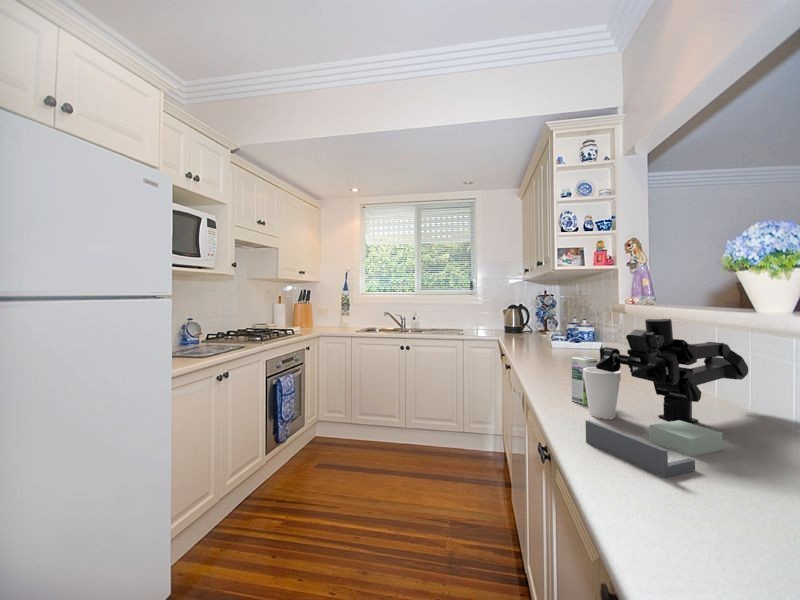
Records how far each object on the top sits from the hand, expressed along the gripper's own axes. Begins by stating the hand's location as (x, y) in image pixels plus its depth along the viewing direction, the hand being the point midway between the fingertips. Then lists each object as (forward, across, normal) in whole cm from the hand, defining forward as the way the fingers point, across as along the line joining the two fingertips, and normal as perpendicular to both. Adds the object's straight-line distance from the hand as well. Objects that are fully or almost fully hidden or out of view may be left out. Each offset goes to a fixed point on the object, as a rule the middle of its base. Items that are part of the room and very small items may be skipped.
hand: (613, 370), depth 88 cm
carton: (-7, +11, +17) cm, 21 cm away
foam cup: (-8, -11, +17) cm, 22 cm away
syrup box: (-15, -22, +18) cm, 33 cm away
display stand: (+8, +10, +15) cm, 20 cm away
